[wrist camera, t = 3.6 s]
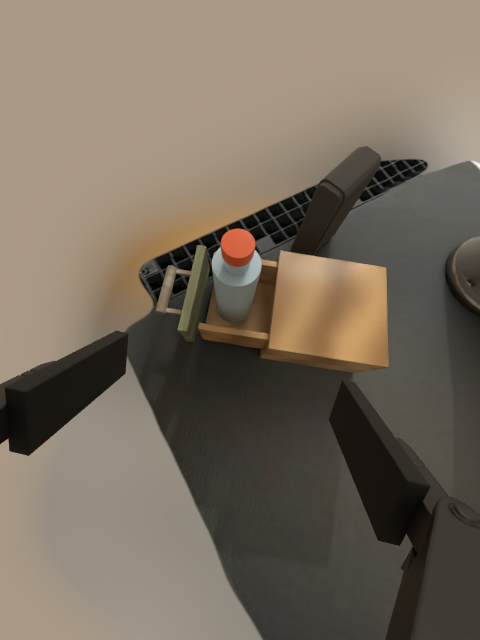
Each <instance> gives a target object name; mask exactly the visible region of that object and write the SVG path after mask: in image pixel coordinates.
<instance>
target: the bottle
mask: <svg viewBox="0 0 480 640" xmlns="http://www.w3.org/2000/svg"><path fill="white" fill-rule="evenodd" d="M261 267H262V264H261V259H260V256H259V254H258V253H257V252H256V250H255V240H254V238H253V236H252V235H251V234H250V233H249V232H247V231H245V230H243V229H233V230H230V231H228V232H227V233H225V234H224V236H223V237H222V240H221V248H219V249H218V250H217V251H216V253H215V254H214V256H213V259H212V271H213V278H214V286H215V294H216V301H217V309H218V313H219V315H220V316H221V318H222V319H224V320H225V321H227V322H230V323H238V322H241V321H243V320H244V319H246V318H247V316H248V315H249V313H250V309H251V305H252V302H253V298H254V294H255V290H256V287H257V283H258V279H259V276H260V272H261Z"/></svg>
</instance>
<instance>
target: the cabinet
mask: <svg viewBox="0 0 480 640" xmlns="http://www.w3.org/2000/svg"><path fill="white" fill-rule="evenodd" d="M276 262H278V267H277V275H276V283H275V292H274V300H273V308H272V316H271V324H270V333H269V341H268V345H267V346H266V347H265V348H264V349H261V351H260V358H264V359H270V360H276V361H282V362H288V363H295V364H301V365H307V366H313V367H319V368H326V369H332V370H338V371H344V372H351V373H356V372H363V371H369V370H375V369H382V368H388V367H389V363H388V325H387V286H386V268H385V267H379V266H373V265H367V264H360V263H354V262H348V261H342V260H336V259H329V258H323V257H317V256H311V255H305V254H298V253H292V252H286V251H280V252H279V255H278V258H277V261H276Z"/></svg>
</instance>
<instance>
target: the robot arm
mask: <svg viewBox="0 0 480 640" xmlns="http://www.w3.org/2000/svg"><path fill="white" fill-rule="evenodd" d="M446 274H447V279H448V282H449V285H450V287H451V289H452V291H453V292H454V294H455V295H456V297H457V298H458V299H459V300H460V301H461V302H462V303H463V304H464V305H465V306H466V307H467V308H468V309H470V310H471V311H472V312H474V313H476V314H477V315H479V316H480V236H478V237H475V238H472V239H470V240H468V241H466V242H465V243H463V244H461V245H460V246H458V247H457V248H455V249H454V250H453V251H452V253H451V254H450V256H449V258H448V260H447V265H446ZM127 346H128V333H125V332H120V331H115V332H113V333H111V334H109V335H107V336H105V337H103V338H101V339H99V340H97V341H95V342H93V343H91V344H90V345H87V346H85V347H83V348H81V349H79V350H77V351H76V352H73V353H71V354H69V355H67V356H65V357H64V358H62V359H59V360H58V361H52V362H48V363H44V364H41V365H39V366H37V367H35V368H33V369H31V370H30V371H27V372H25V373H22V374H21V375H20V376H16V377H14V378H12V379H10V380H8V381H6V382H4V383H2V384H0V444H1V443H2V442H4V441H5V440H7V439H8V438H9V451H11V452H15V453H19V454H24V455H28V456H29V455H30V454H31V453H33V452H34V451H35V450H36V449H37V448H38V447H40V446H41V445H42V444H43V443H44V442H45V441H47V440H48V439H49V438H50V437H51V436H53V435H54V434H55V433H56V432H57V431H58V430H60V429H61V428H62V427H63V426H64V425H65V424H67V423H68V422H69V421H70V420H71V419H72V418H74V417H75V416H76V415H77V414H78V413H79V412H81V411H82V410H83V409H84V408H85V407H87V406H88V405H89V404H90V403H91V402H92V401H94V400H95V399H96V398H97V397H98V396H100V395H101V394H102V393H103V392H104V391H105V390H106V389H108V388H109V387H110V386H111V385H112V384H114V383H115V382H116V381H117V380H118V379H120V378H121V377H122V376H123V375H124V374H125V371H126V359H127ZM329 421H330V423H331V426H332V428H333V431H334V433H335V436H336V438H337V441H338V443H339V446H340V448H341V450H342V453H343V455H344V458H345V460H346V463H347V465H348V468H349V470H350V473H351V475H352V478H353V480H354V482H355V485H356V487H357V490H358V492H359V495H360V497H361V500H362V502H363V505H364V507H365V510H366V512H367V514H368V517H369V519H370V522H371V524H372V527H373V529H374V532H375V534H376V537H377V539H378V541H382V542H386V543H390V544H394V545H399V546H400V544H401V542H402V540H403V539H404V537H405V535H406V533H407V535H408V537H409V539H410V541H411V543H412V545H413V547H412V549H411V551H410V552H409V554H408V556H407V558H406V560H405V562H404V563H403V565H402V567H401V569H402V570H403V571H404V573H403V577H402V581H401V584H400V588H399V592H398V595H397V599H396V603H395V606H394V610H393V613H392V617H391V621H390V624H389V628H388V632H387V635H386V639H385V640H480V516H479V515H478V514H477V513H476V512H475V511H474V510H473V509H471V508H470V507H469V506H467V505H466V504H465V503H463V502H461V501H459V500H457V499H455V498H452V497H449V496H448V495H447V493H446V492H445V491H444V489H443V488H442V487H441V486H440V484H439V483H438V482H437V480H436V479H435V478H434V477H433V475H432V474H431V473H430V471H429V470H428V469H427V468H425V465H424V464H423V462H422V461H421V460H420V459H419V457H418V456H417V455H416V453H415V452H414V451H413V449H412V448H411V447H410V446H409V445H407V444H406V443H405V442H404V441H403V440H402V439H400V438H397V437H394V435H393V434H392V432H391V431H390V430H389V428H388V427H387V426H386V424H385V423H384V422H383V420H382V419H381V417H380V416H379V415H378V413H377V412H376V411H375V409H374V408H373V407H372V405H371V404H370V402H369V401H368V400H367V398H366V397H365V396H364V394H363V393H362V392H361V390H360V389H359V387H358V386H357V385H356V383H353V382H348V381H344V380H342V383H341V386H340V389H339V392H338V394H337V397H336V400H335V403H334V406H333V409H332V412H331V415H330V418H329Z"/></svg>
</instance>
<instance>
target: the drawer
mask: <svg viewBox="0 0 480 640" xmlns="http://www.w3.org/2000/svg"><path fill="white" fill-rule="evenodd" d="M215 253H216V252H214V254H215ZM213 256H214V255H213ZM261 264H262V267H261V272H260V276H259V279H258V283H257V287H256V290H255V294H254V298H253V302H252V305H251V309H250V313H249V315H248V316H247V318H246V319H244V320H243V321H241V322H238V323H230V322H227V321H225V320H224V319H222V318H221V316H220V315H219V313H218V309H217V301H216V294H215V286H214V284H213V289H212V294H211V299H210V304H209V309H208V313H207V318H206V323H205V324H203V323H199V326H198V322H199V318H200V313H201V308H202V303H203V299H204V294H205V289H206V285H207V280H208V275H209V271H210V269H209V263H208V256H207V250H206V246H201V245H198V246H197V250H196V254H195V258H194V262H193V266H192V271H186V270H179V269H177V268H176V267H174V266H168V267H167V271H166V274H165V278H164V282H163V285H162V289H161V293H160V296H159V300H158V304H157V308H156V311H155V312H156V313H158V314H162V315H165V314H166V313H169V314H175V315H181V317H180V321H179V326H178V331H179V332H180V334H181V335H182V336H183V337H184V339H185V340H186V341H189V342H194V341H195V336H196V332H197V327H198V330H199V332H200V334H201V336H202V338H203V339H204V340H210V341H216V342H222V343H228V344H235V345H241V346H247V347H253V348H260V349H264V348H265V347H266V346H267V345H268V341H269V333H270V324H271V316H272V308H273V300H274V292H275V283H276V275H277V267H278V262H273V261H267V260H261ZM176 274H177V275H183V276H190V279H189V283H188V288H187V292H186V296H185V300H184V304H183V309H182V310H177V309H170V308H168V304H169V300H170V296H171V292H172V288H173V284H174V280H175V277H176Z"/></svg>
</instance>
